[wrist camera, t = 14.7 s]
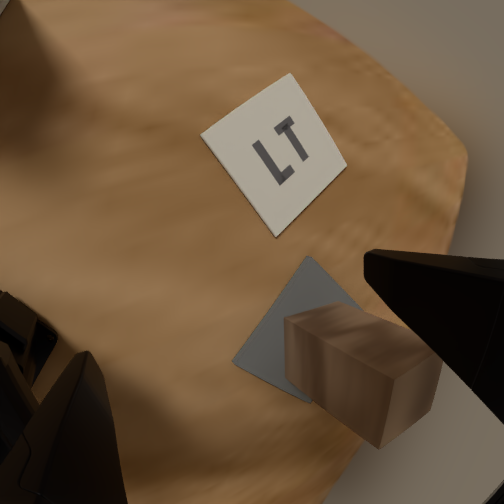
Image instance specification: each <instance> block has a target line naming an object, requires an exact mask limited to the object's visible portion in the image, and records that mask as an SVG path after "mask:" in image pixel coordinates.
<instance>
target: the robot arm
mask: <svg viewBox="0 0 504 504" xmlns="http://www.w3.org/2000/svg"><path fill="white" fill-rule="evenodd" d="M364 278H365V280H366V282H367V283H368V284H369V285H370V286H371V287H372V289H373V290H374V291H375V292H376V293H377V294H378V295H379V297H380V298H381V299H382V300H383V301H384V302H385V304H386V305H387V306H388V307H389V308H390V309H391V310H392V311H393V312H394V313H395V314H396V315H397V316H398V317H399V318H400V319H401V320H402V321H403V322H404V323H405V324H406V325H407V326H408V327H409V328H410V329H411V330H412V331H413V332H414V333H415V334H416V335H418V336H419V337H420V338H421V339H422V340H423V341H424V342H425V343H426V344H427V345H428V346H429V347H430V348H431V349H432V350H433V351H434V352H435V353H436V354H437V355H438V356H439V357H440V358H441V359H442V360H443V361H444V362H445V363H446V364H447V365H448V366H449V367H450V368H451V369H452V370H453V371H454V372H455V373H456V374H457V375H458V376H459V377H460V378H461V380H463V382H465V384H466V385H467V386H468V387H469V388H470V389H472V391H473V392H474V393H475V394H476V395H477V396H478V397H479V399H480V400H482V402H483V403H484V404H485V405H486V406H487V407H488V408H489V409H490V410H491V411H492V412H493V414H494V415H495V416H496V417H497V418H498V419H499V420H500V421H501V422H502V423H503V424H504V260H503V259H486V258H473V257H463V256H452V255H441V254H429V253H418V252H406V251H394V250H382V249H373V250H371V251H368V252H366V253H365V254H364ZM48 335H52V336H53V338H54V339H53V340H50V339H48V338H47V336H48ZM57 340H58V335H57V333H56V332H55V331H54V330H53V329H51V328H50V327H49V326H47V325H46V324H44V323H43V322H41V321H40V320H38V319H37V315H36V313H34V312H33V311H31V310H30V309H29V308H27V307H26V306H25V305H23V304H22V303H21V302H19V301H18V300H17V299H16V298H14V297H13V296H12V295H10V294H9V293H8V292H1V291H0V504H128V502H127V497H126V492H125V488H124V483H123V477H122V472H121V466H120V461H119V454H118V448H117V441H116V434H115V427H114V421H113V417H112V412H111V408H110V404H109V399H108V395H107V390H106V385H105V380H104V377H103V374H102V372H101V370H100V368H99V366H98V365H97V363H96V361H95V359H94V357H93V356H92V354H91V353H90V352H89V351H83V352H80V353H77V354H76V355H75V356H74V357H73V359H72V360H71V361H70V363H69V364H68V365H67V367H66V368H65V370H64V371H63V372H62V374H61V375H60V377H59V378H58V379H57V381H56V382H55V384H54V385H53V387H52V388H51V389H50V391H49V392H48V394H47V395H46V397H45V398H44V400H43V401H42V403H41V404H40V405H39V403H38V402H37V400H36V398H35V397H34V395H33V393H32V391H31V388H32V386H33V384H34V382H35V380H36V378H37V376H38V375H39V373H40V371H41V369H42V367H43V366H44V364H45V362H46V360H47V358H48V357H49V355H50V353H51V352H52V350H53V348H54V346H55V345H56V343H57ZM482 504H504V480H503V481H502V482H501V484H500V485H499V486H498V487H497V488H496V489H495V490H494V491H493V493H492V494H491V495H490V496H489V497H488V498H487V499H486V500H485V501H484V502H483V503H482Z"/></svg>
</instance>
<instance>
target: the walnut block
mask: <svg viewBox="0 0 504 504" xmlns="http://www.w3.org/2000/svg"><path fill="white" fill-rule="evenodd" d="M284 354H285V378H286V379H287V380H288V381H290V382H291V383H292V384H293V385H295V386H296V387H297V388H298V389H300V390H301V391H302V392H303V393H305V394H306V395H307V396H308V397H310V398H311V399H312V400H313V401H315V402H316V403H317V404H318V405H320V406H321V407H322V408H324V409H325V410H326V411H327V412H329V413H330V414H331V415H333V416H334V417H335V418H337V419H338V420H339V421H341V422H342V423H343V424H344V425H346V426H347V427H348V428H350V429H351V430H353V431H354V432H355V433H357V434H358V435H359V436H361V437H362V438H363V439H365V440H366V441H368V442H369V443H370V444H372V445H373V446H374V447H376V448H377V449H381V448H382V447H383V446H385V445H386V444H388V443H389V442H390V441H392V440H393V439H395V438H396V437H397V436H399V435H400V434H401V433H402V432H404V431H405V430H406V429H408V428H409V427H410V426H412V425H413V424H414V423H416V422H417V421H418V420H419V419H421V418H422V417H423V416H424V415H425V414H426V413H428V412H429V411H430V409H431V406H432V402H433V399H434V395H435V392H436V388H437V384H438V380H439V376H440V372H441V368H442V363H443V360H442V359H441V358H440V357H439V356H438V355H437V354H436V353H435V352H434V351H433V350H432V349H431V348H430V347H429V346H428V345H427V344H426V343H425V342H424V341H423V340H422V339H421V338H420V337H419V336H418V335H416V334H415V333H414V332H413V331H412V330H409V329H407V328H404V327H402V326H399V325H397V324H394V323H392V322H389V321H387V320H384V319H382V318H379V317H377V316H374V315H372V314H369V313H367V312H364V311H362V310H359V309H357V308H355V307H352V306H350V305H347V304H345V303H342V302H340V301H336V302H333V303H330V304H327V305H324V306H321V307H317V308H314V309H311V310H308V311H304V312H301V313H298V314H294V315H291V316H287V317H284Z"/></svg>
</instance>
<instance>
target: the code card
mask: <svg viewBox="0 0 504 504" xmlns="http://www.w3.org/2000/svg"><path fill="white" fill-rule="evenodd" d="M200 137H201V138H202V139H203V141H204V142H205V143H206V144H207V146H208V147H209V148H210V150H211V151H212V152H213V154H214V155H215V156H216V158H217V159H218V160H219V162H220V163H221V164H222V166H223V167H224V169H225V170H226V171H227V173H228V174H229V175H230V177H231V178H232V179H233V181H234V182H235V183H236V185H237V186H238V187H239V189H240V190H241V191H242V193H243V194H244V196H245V197H246V198H247V200H248V201H249V202H250V204H251V205H252V206H253V208H254V209H255V211H256V212H257V213H258V215H259V216H260V217H261V219H262V220H263V222H264V223H265V224H266V226H267V227H268V228H269V230H270V231H271V233H272V234H273V235H274V237H277V236H278V235H279V234H280V233H281V232H282V231H283V230H284V229H285V228H286V227H287V226H288V225H289V224H290V223H291V222H292V221H293V220H294V219H295V218H296V217H297V216H298V215H299V214H300V213H301V212H302V211H303V210H304V209H305V208H306V207H307V206H308V205H309V204H310V203H311V202H312V201H313V200H314V199H315V198H316V197H317V196H318V195H319V193H320V192H321V191H322V190H323V189H324V188H325V187H326V186H327V185H328V184H329V183H330V182H331V181H332V180H333V179H334V178H335V177H336V176H337V175H338V174H339V173H340V172H341V171H342V170H343V169H344V168H345V167H346V166H347V164H346V162H345V161H344V159H343V157H342V155H341V153H340V152H339V150H338V148H337V146H336V145H335V143H334V141H333V140H332V138H331V136H330V134H329V133H328V131H327V129H326V128H325V126H324V124H323V123H322V121H321V119H320V118H319V116H318V115H317V113H316V111H315V110H314V108H313V107H312V105H311V103H310V102H309V100H308V99H307V97H306V96H305V94H304V92H303V91H302V89H301V88H300V86H299V85H298V83H297V82H296V80H295V79H294V77H293V76H292V74H291V73H289V74H287V75H286V76H284V77H282V78H281V79H279V80H278V81H276V82H275V83H273V84H272V85H270V86H268V87H267V88H265V89H264V90H262V91H261V92H259V93H258V94H256V95H255V96H253V97H252V98H251V99H249V100H248V101H246V102H245V103H243V104H242V105H240V106H239V107H238V108H236V109H235V110H233V111H232V112H230V113H229V114H228V115H226V116H225V117H224V118H222V119H221V120H219V121H218V122H217V123H215V124H214V125H213V126H211V127H210V128H209V129H207V130H206V131H205V132H203V133H202V134H201V135H200Z"/></svg>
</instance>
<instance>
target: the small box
mask: <svg viewBox="0 0 504 504" xmlns="http://www.w3.org/2000/svg"><path fill="white" fill-rule="evenodd" d="M9 1H10V0H0V15H1V13H2V11H3V10H4V8H5V7H6V5H7V4H8V2H9Z"/></svg>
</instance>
